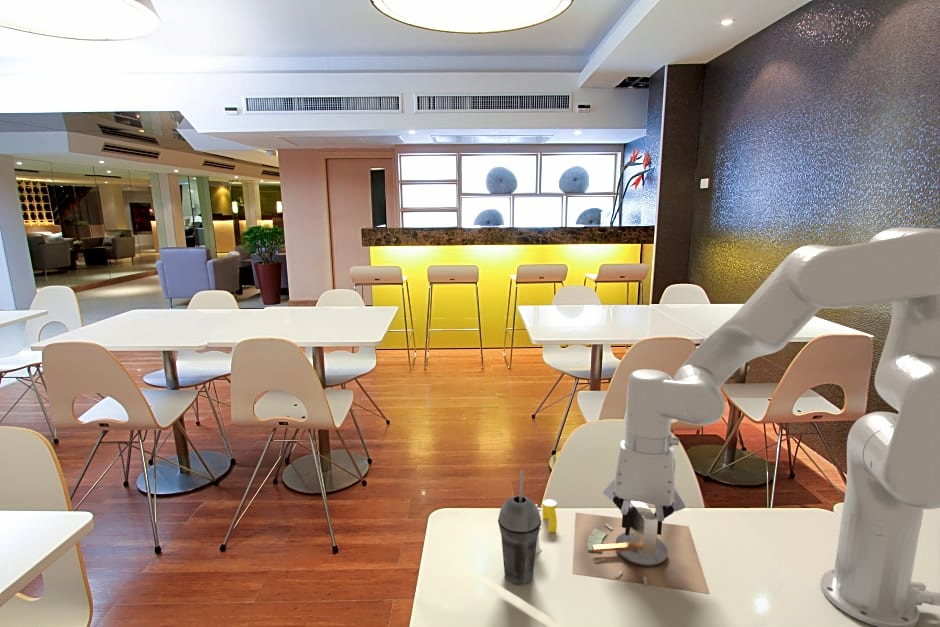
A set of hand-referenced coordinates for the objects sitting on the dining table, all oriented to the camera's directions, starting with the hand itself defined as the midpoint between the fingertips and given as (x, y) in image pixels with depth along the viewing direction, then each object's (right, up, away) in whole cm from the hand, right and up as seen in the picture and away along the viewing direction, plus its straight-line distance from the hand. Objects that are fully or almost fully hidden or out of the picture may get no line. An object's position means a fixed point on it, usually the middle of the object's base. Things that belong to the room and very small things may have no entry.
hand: (641, 532), depth 93 cm
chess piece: (-19, -5, +2) cm, 20 cm away
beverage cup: (-23, -6, -5) cm, 24 cm away
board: (-1, -5, +2) cm, 5 cm away
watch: (-15, -4, +9) cm, 18 cm away
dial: (-2, -4, 0) cm, 4 cm away
